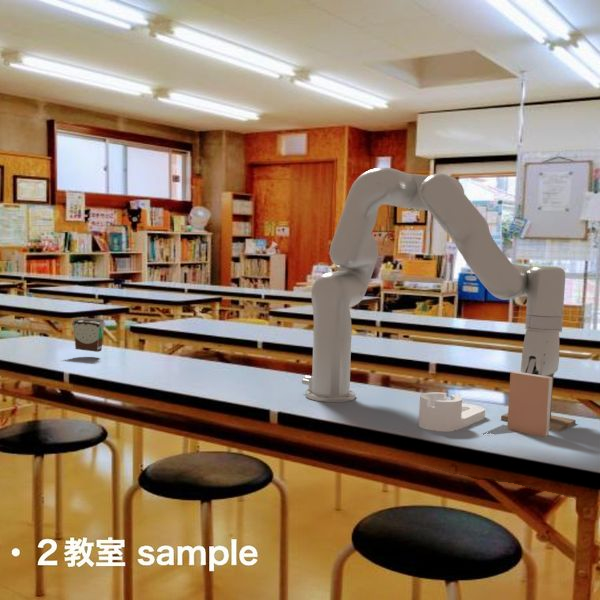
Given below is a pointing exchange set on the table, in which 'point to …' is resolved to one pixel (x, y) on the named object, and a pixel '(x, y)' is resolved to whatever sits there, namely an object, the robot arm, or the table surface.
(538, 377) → the glazed tile
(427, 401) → the bracket
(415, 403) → the table surface
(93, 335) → the food container
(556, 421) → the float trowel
